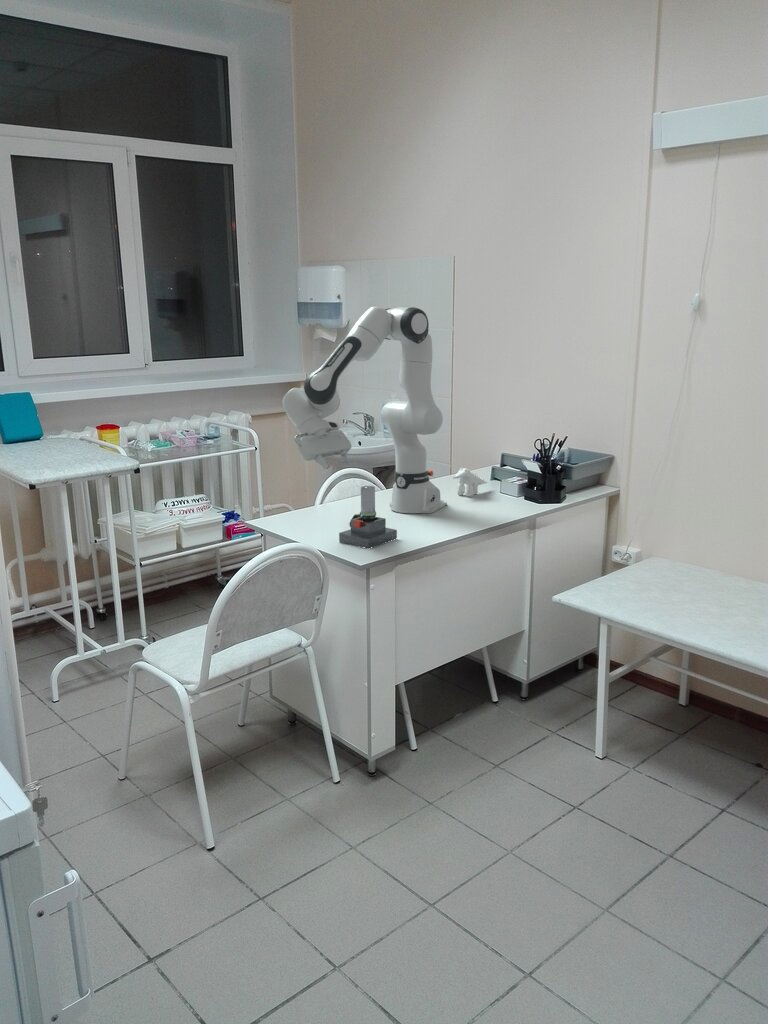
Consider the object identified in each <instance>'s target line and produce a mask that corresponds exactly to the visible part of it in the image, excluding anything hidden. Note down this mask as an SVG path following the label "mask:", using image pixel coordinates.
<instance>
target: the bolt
mask: <svg viewBox="0 0 768 1024" xmlns="http://www.w3.org/2000/svg"><path fill="white" fill-rule="evenodd" d="M358 517H361V511H360V512H359V513H358V514H356V513H355V514H354V515H353V516H352V517H351V519H354V518H358ZM348 525H349V528H351V520H350V521H349V524H348Z"/></svg>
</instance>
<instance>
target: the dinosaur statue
mask: <svg viewBox="0 0 768 1024" xmlns="http://www.w3.org/2000/svg"><path fill="white" fill-rule="evenodd" d="M452 479H453V480H454V479H458V484H457V487H456V489H457V491H456V492H457V495H458V496H460V495H461V496H464V495H465V496H466V497H467V496H471V497H473V495H474V494H476V495H478V494H477V493H479V492H478V489H479V488H478V487H479V486H481V485H484V484H488V482H487V481H485V479H484V478H481V476H479V475H477V473H475V474H474V473H473V472H471V470H470V469H468V468H466V467H460V469H458V472H457V473H456V474H455V475H454V476H452Z"/></svg>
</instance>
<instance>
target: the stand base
mask: <svg viewBox="0 0 768 1024" xmlns="http://www.w3.org/2000/svg"><path fill="white" fill-rule="evenodd" d="M350 521H351V527H350V529H347V530H344V531H341V532H338V540H339V542H338V543H342V544H345V543H346V544H345V545H350V544H351V546H354V545H355V547H358V546H360V548H363V547H365V548H364V549H367V548H370V549H372V548H371V547H373V548H374V546H376V547H378V546H380V544H381V545H384V544H386V543H385V542H387V543H389V542H388V541H390V542H392V541H395V540H397V539H396V538H398V530H397V529H395V528H390V527H386V524H387V523H386V522H387V521H386V518H385V517H379V516H375V521H371V522H366V521H362V520H361V517H358V518H354V519H352V518H351V519H350ZM394 539H395V540H394ZM391 540H392V541H391ZM383 543H384V544H383ZM377 545H378V546H377Z"/></svg>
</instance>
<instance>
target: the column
mask: <svg viewBox="0 0 768 1024" xmlns="http://www.w3.org/2000/svg"><path fill="white" fill-rule="evenodd" d="M360 512H361V520H362V521H366V522H371V521H375V517H377V512H376V487H375V486H373V485H364V486H363V485H362V486H361V487H360Z"/></svg>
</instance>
